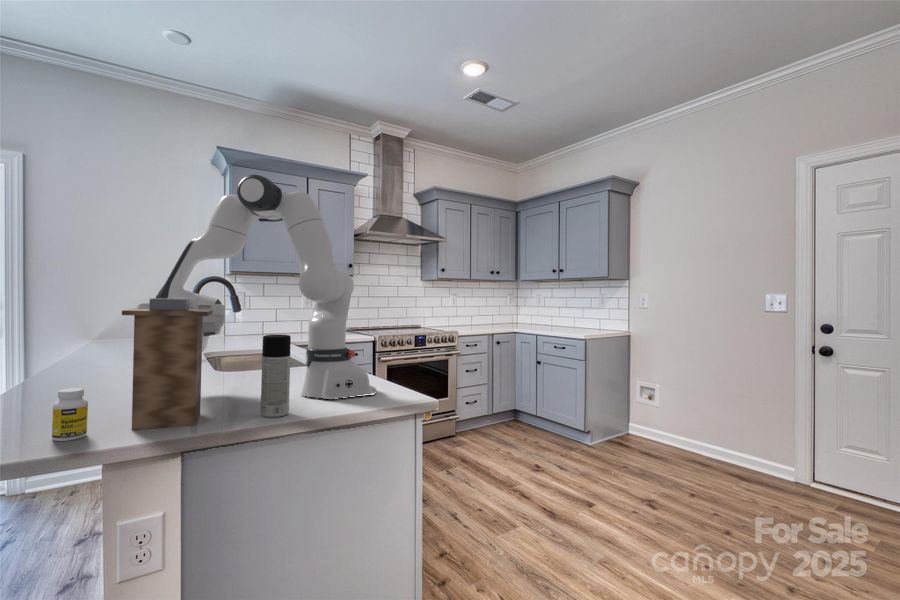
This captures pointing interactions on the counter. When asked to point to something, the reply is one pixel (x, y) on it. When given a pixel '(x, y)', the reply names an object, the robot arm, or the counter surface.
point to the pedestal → (166, 367)
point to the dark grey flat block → (169, 304)
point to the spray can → (275, 375)
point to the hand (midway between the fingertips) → (179, 300)
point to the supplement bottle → (70, 415)
